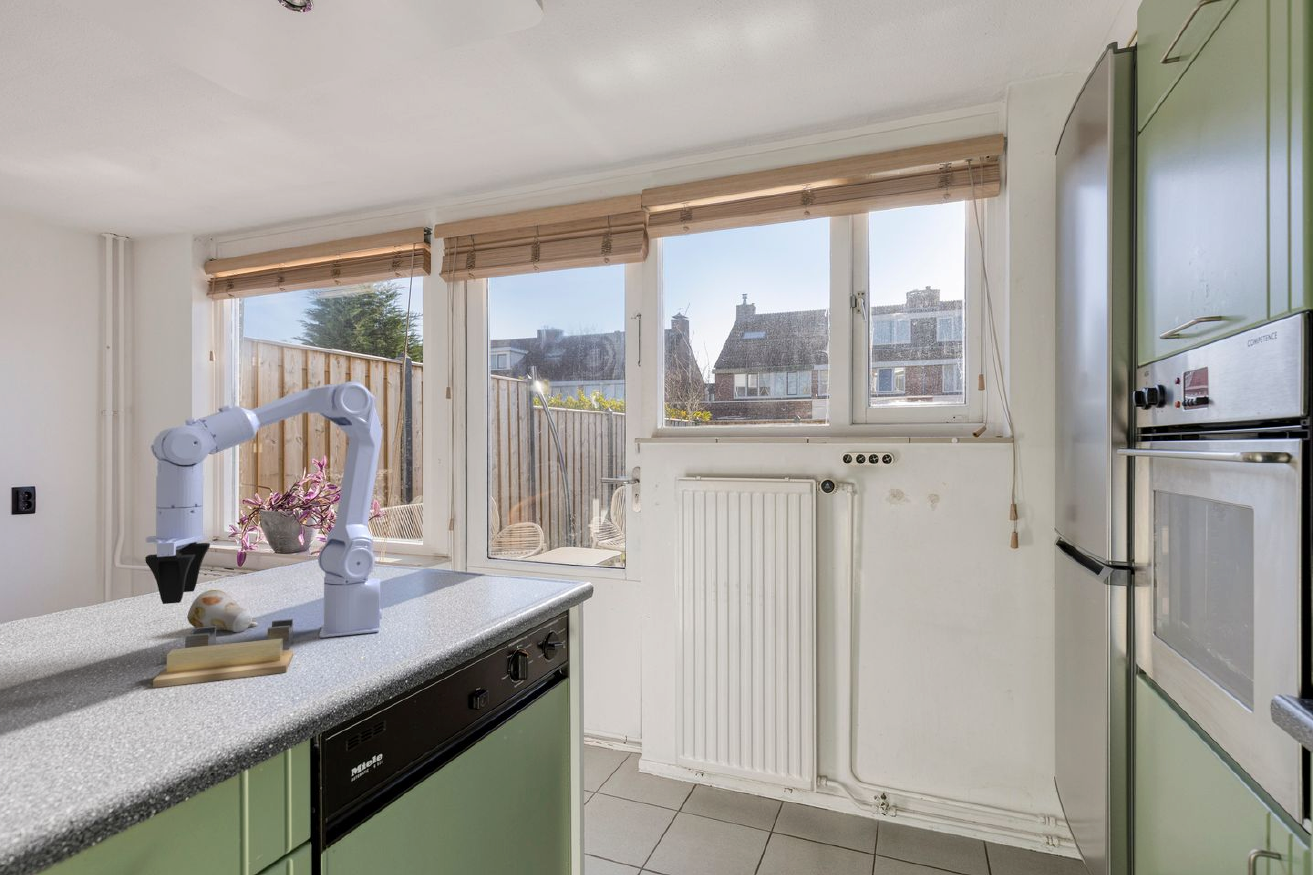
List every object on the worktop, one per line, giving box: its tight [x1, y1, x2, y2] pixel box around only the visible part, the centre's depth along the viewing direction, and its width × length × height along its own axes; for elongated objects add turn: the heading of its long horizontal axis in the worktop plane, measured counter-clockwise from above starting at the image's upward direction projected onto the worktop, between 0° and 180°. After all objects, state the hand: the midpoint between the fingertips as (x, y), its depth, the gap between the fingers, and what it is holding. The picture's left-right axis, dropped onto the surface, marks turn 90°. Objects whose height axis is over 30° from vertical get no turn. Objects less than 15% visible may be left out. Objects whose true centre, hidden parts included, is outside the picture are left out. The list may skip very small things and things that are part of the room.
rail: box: [166, 638, 283, 673], centre depth 96 cm, size 14×3×3 cm, turn 113°
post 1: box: [184, 626, 217, 648], centre depth 104 cm, size 3×5×4 cm, turn 23°
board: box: [152, 648, 294, 689], centre depth 96 cm, size 16×8×1 cm, turn 113°
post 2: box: [267, 618, 294, 650], centre depth 108 cm, size 3×5×4 cm, turn 23°
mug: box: [186, 589, 259, 633], centre depth 117 cm, size 8×10×10 cm
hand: (179, 597), depth 98 cm, fingers open, 7 cm apart
